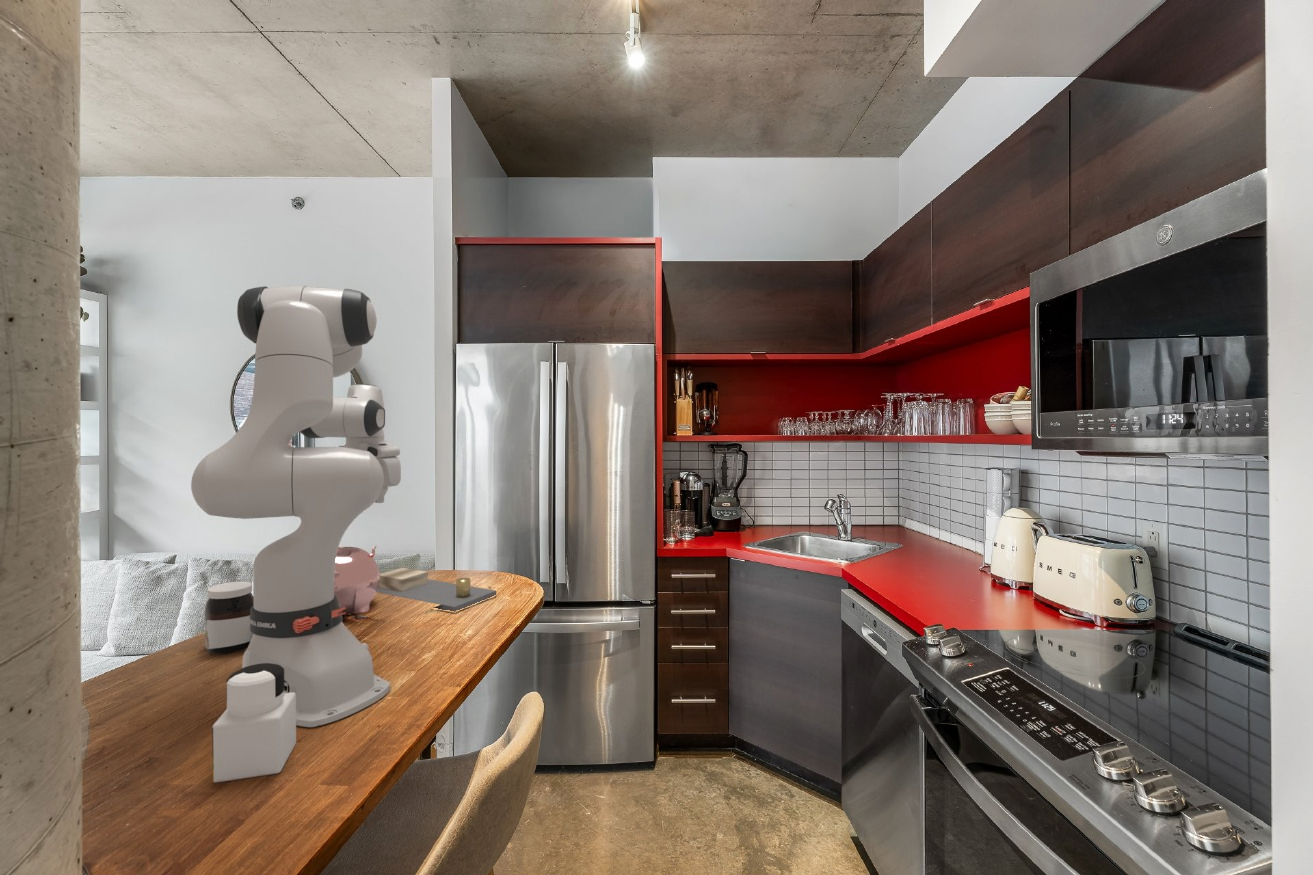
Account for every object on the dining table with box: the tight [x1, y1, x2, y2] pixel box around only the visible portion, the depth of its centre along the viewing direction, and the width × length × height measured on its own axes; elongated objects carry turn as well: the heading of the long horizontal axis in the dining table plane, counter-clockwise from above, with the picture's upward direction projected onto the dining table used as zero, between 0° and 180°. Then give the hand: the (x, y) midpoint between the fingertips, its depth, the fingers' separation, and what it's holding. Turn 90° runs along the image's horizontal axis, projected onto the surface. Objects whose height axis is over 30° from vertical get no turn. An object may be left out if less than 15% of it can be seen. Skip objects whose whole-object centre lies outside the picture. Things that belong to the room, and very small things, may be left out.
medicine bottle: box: [211, 663, 297, 783], centre depth 74 cm, size 7×7×12 cm
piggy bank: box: [334, 546, 381, 621], centre depth 129 cm, size 15×18×16 cm
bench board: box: [376, 578, 497, 612], centre depth 144 cm, size 30×14×2 cm, turn 65°
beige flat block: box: [378, 567, 429, 592], centre depth 148 cm, size 9×8×3 cm
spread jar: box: [204, 581, 254, 655], centre depth 111 cm, size 12×11×12 cm
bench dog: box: [455, 577, 471, 598], centre depth 139 cm, size 3×3×4 cm
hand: (365, 500), depth 151 cm, fingers open, 8 cm apart
